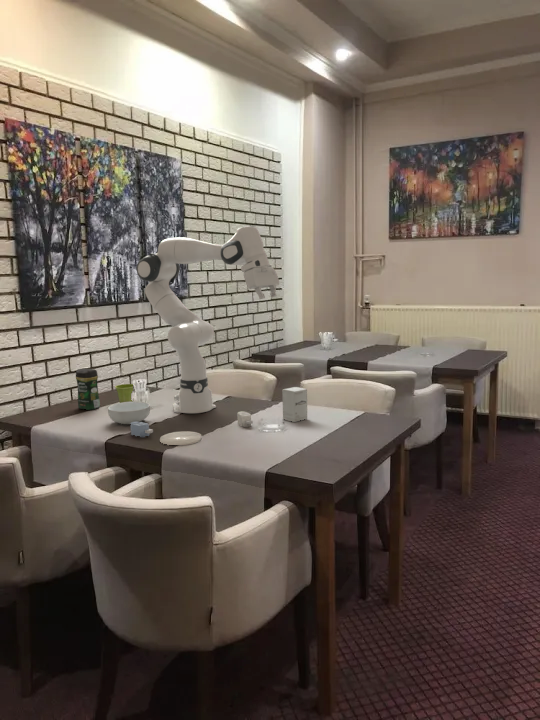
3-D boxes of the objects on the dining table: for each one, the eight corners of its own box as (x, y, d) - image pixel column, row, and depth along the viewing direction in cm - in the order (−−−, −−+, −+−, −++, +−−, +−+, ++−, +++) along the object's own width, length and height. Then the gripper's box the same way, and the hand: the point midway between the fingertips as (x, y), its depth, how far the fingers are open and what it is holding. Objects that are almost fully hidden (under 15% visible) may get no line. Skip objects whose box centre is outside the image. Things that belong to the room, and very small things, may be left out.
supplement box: (294, 422, 230) (293, 391, 228) (282, 419, 236) (281, 389, 234) (308, 419, 235) (307, 388, 233) (295, 416, 240) (295, 386, 238)
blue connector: (129, 434, 220) (128, 423, 219) (136, 432, 223) (136, 421, 222) (147, 438, 214) (146, 427, 214) (154, 436, 217) (154, 424, 217)
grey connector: (236, 422, 233) (235, 412, 232) (245, 421, 234) (244, 411, 233) (245, 428, 223) (245, 417, 223) (254, 427, 225) (254, 416, 224)
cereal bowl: (100, 425, 235) (98, 408, 234) (127, 416, 249) (126, 400, 248) (132, 429, 227) (131, 412, 226) (159, 419, 242) (158, 403, 241)
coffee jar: (75, 409, 265) (71, 369, 263) (88, 405, 272) (85, 366, 269) (89, 411, 260) (86, 370, 257) (103, 407, 267) (100, 367, 264)
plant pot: (141, 402, 274) (139, 384, 273) (126, 407, 266) (125, 388, 265) (126, 400, 279) (125, 383, 278) (112, 405, 271) (110, 386, 270)
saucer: (155, 437, 215) (155, 434, 215) (194, 431, 221) (194, 429, 221) (165, 448, 202) (165, 445, 201) (206, 441, 207) (206, 439, 207)
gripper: (264, 266, 241) (274, 298, 241) (238, 268, 224) (248, 302, 224) (277, 261, 238) (287, 293, 238) (251, 262, 221) (262, 297, 221)
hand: (268, 297), depth 231 cm, fingers open, 8 cm apart
